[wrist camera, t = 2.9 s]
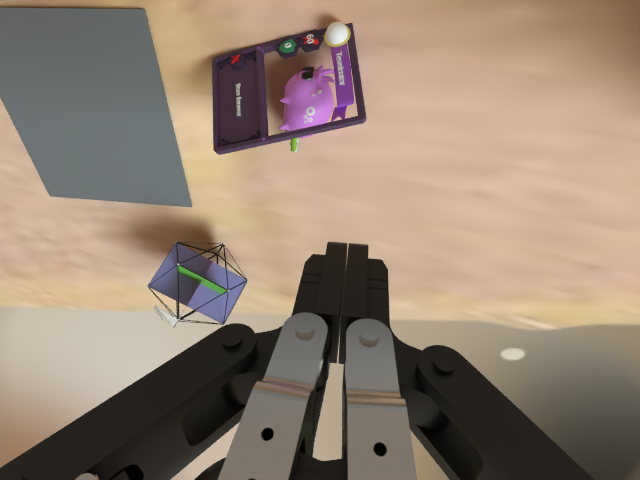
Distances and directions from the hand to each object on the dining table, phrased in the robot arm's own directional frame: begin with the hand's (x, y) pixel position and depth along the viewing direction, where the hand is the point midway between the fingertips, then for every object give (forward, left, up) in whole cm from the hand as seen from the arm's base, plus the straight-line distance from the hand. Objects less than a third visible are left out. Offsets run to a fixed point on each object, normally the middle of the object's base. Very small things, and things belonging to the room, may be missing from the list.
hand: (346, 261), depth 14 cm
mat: (+20, 0, -14) cm, 25 cm away
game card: (+9, -1, -12) cm, 15 cm away
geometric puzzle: (+12, +12, -14) cm, 22 cm away
